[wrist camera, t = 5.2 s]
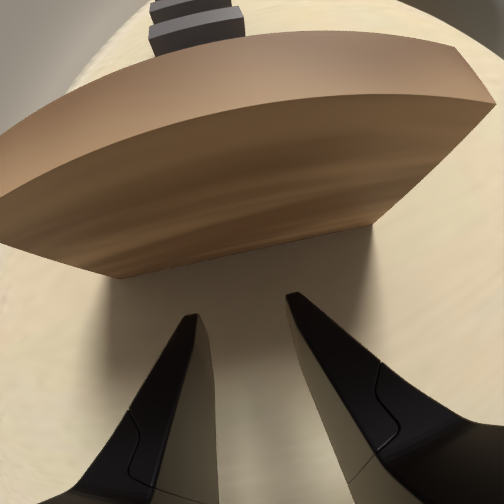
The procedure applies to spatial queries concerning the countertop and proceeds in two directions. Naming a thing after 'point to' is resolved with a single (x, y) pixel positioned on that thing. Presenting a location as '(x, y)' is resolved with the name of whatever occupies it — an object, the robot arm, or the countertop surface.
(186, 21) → the domino
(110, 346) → the countertop surface
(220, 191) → the board
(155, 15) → the domino
